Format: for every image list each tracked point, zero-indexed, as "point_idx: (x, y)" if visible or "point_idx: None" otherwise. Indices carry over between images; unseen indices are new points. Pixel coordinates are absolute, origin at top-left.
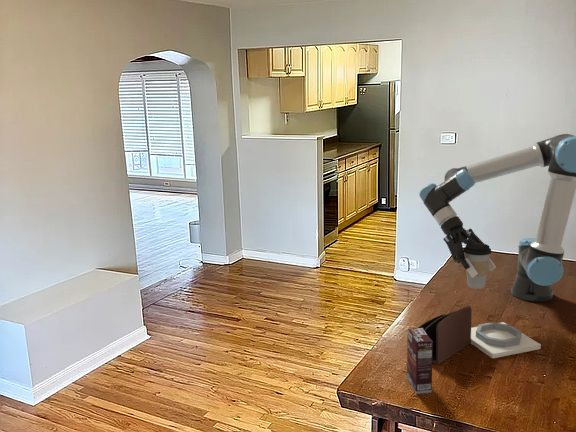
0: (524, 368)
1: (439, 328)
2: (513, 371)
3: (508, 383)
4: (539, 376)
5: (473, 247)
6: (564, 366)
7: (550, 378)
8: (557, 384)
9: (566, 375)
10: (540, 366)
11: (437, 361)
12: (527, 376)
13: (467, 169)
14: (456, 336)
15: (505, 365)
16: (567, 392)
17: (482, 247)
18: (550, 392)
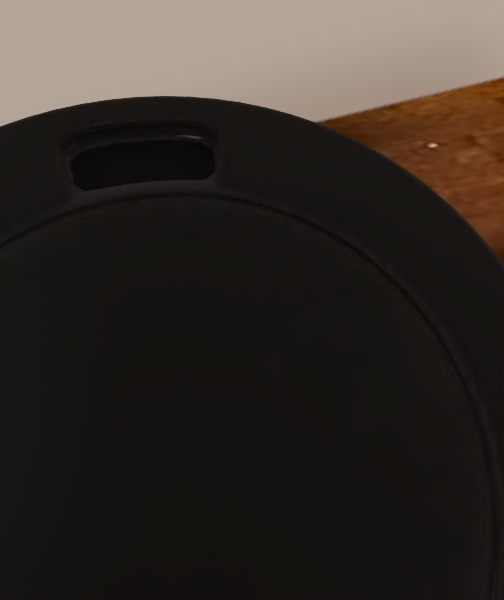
0: (448, 186)
1: None
2: (491, 199)
3: None
4: (450, 150)
5: (384, 411)
6: (343, 128)
7: (434, 131)
8: (445, 115)
9: (385, 114)
10: (398, 164)
11: None
12: (479, 167)
13: None
14: None
15: (484, 226)
16: (456, 94)
17: (223, 195)
18: (492, 114)
